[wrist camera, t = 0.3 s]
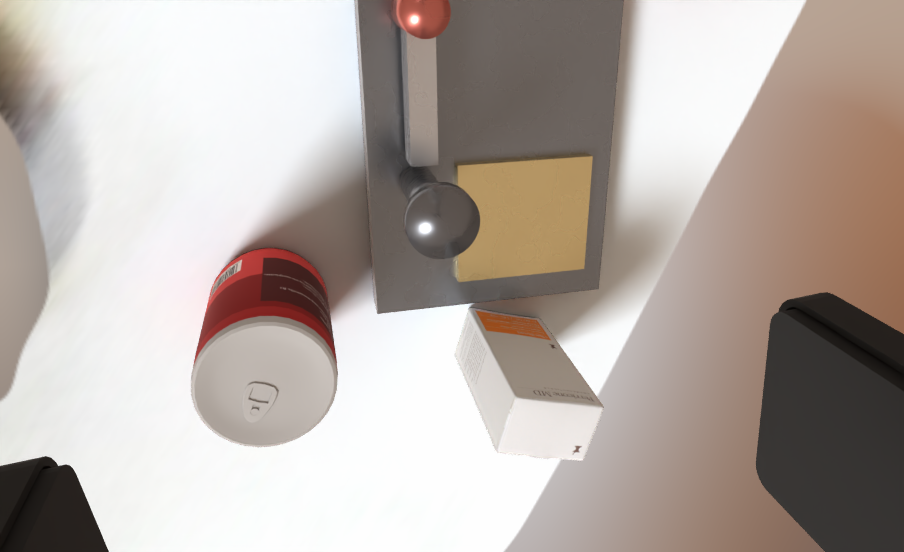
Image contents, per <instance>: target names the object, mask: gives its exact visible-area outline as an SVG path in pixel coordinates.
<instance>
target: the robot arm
mask: <svg viewBox="0 0 904 552" xmlns="http://www.w3.org/2000/svg"><path fill="white" fill-rule="evenodd" d="M756 469H757V473H758V476H759V479H760V480H761V483H762V485H763V486H764V487H765V489H766V490H767V491H768V492H769V493H770V494H771V495H772V496H773V497H774V499H776V501H777V502H778V503H779V504H780V505H781V506H782V507H783V508H784V509H785V510H786V511H787V512H788V513H789V514H790V515H791V516H792V517H793V518H794V520H795V521H796V522H798V524H799V525H800V526H801V527H802V528H803V529H804V530H805V531H806V532H807V533H808V534H809V535H810V536H811V537H812V538H813V539H814V541H815V542H816V543H817V544H818V545H819V546H820V547H821V548H822V549H823V550H824V551H825V552H904V334H902V333H901V332H899V331H897V330H895V329H894V328H892V327H890V326H888V325H887V324H885V323H883V322H881V321H879V320H877V319H876V318H874V317H872V316H871V315H869V314H867V313H865V312H864V311H862V310H860V309H858V308H857V307H855V306H853V305H851V304H849V303H847V302H846V301H844V300H842V299H841V298H839V297H837V296H835V295H833V294H830V293H818V294H814V295H809V296H804V297H799V298H795V299H790V300H787V301H785V302H784V303H783V304H782V305H781V307H780V308H779V312H778V313H776V314H775V315H774V316H773V317H772V319H771V323H770V331H769V341H768V350H767V360H766V370H765V379H764V389H763V399H762V409H761V418H760V428H759V438H758V447H757V457H756ZM0 552H109V551H108V549H107V546H106V544H105V542H104V539H103V537H102V534H101V532H100V530H99V527H98V525H97V523H96V520H95V518H94V515H93V513H92V511H91V508H90V506H89V504H88V501H87V499H86V497H85V494H84V492H83V489H82V487H81V485H80V482H79V480H78V478H77V475H76V473H75V471H74V470H73V468H72V467H71V466H70V465H62V466H58V465H57V463H56V462H55V461H54V460H53V459H52V458H50V457H46V456H45V457H41V458H36V459H31V460H26V461H22V462H17V463H12V464H7V465H3V466H0Z"/></svg>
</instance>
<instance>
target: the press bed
mask: <svg viewBox="0 0 904 552" xmlns="http://www.w3.org/2000/svg"><path fill="white" fill-rule="evenodd" d="M448 1H449V3H450V8H451V16H450V20H449V23H448V25H447V27H446V29H445V30H444V31H443V32H442V33H441V34H440V35H438V36H437V37H436V65H437V116H438V165H432V166H418V167H411V166H410V164H409V163H408V161H407V159H406V151H405V126H404V101H403V76H402V51H401V29H400V28H399V27H398V26H397V25H396V23H395V22H394V20H393V17H392V14H391V2H392V0H354V2H355V18H356V33H357V48H358V64H359V79H360V94H361V109H362V125H363V140H364V155H365V171H366V186H367V201H368V217H369V232H370V247H371V262H372V278H373V293H374V303H375V306H376V310H377V314H380V313H388V312H397V311H406V310H415V309H424V308H433V307H442V306H451V305H460V304H469V303H478V302H487V301H496V300H505V299H513V298H522V297H531V296H540V295H549V294H558V293H567V292H576V291H585V290H594V289H599V278H600V266H601V255H602V243H603V231H604V220H605V208H606V197H607V185H608V174H609V162H610V151H611V139H612V128H613V116H614V105H615V93H616V82H617V70H618V59H619V47H620V36H621V24H622V13H623V1H624V0H448Z"/></svg>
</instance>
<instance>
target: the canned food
mask: <svg viewBox="0 0 904 552" xmlns="http://www.w3.org/2000/svg"><path fill="white" fill-rule="evenodd" d="M337 376H338V371H337V360H336V353H335V346H334V339H333V332H332V325H331V318H330V311H329V304H328V297H327V291H326V287H325V284H324V282H323V279H322V278H321V276H320V275H319V273H318V272H317V270H316V269H315V268H314V267H313V266H312V265H311V264H310V263H309V262H308V261H306V260H305V259H303V258H302V257H300V256H299V255H297V254H295V253H293V252H290V251H288V250H283V249H278V248H263V249H257V250H253V251H250V252H248V253H245V254H243V255H241V256H240V257H238V258H236V259H235V260H233V261H232V262H230V263H229V264H228V265H227V266H226V267H225V268H224V269H223V270H222V271H221V272H220V274H219V275H218V277H217V278H216V280H215V282H214V284H213V286H212V289H211V292H210V297H209V301H208V305H207V309H206V313H205V317H204V322H203V326H202V330H201V334H200V338H199V343H198V347H197V351H196V355H195V360H194V365H193V371H192V376H191V395H192V400H193V403H194V407H195V409H196V411H197V413H198V415H199V417H200V418H201V420H202V421H203V422H204V423H205V424H206V426H207V427H208V428H209V429H210V430H212V431H213V432H214V433H216V434H217V435H218V436H220V437H222V438H224V439H226V440H228V441H230V442H233V443H237V444H240V445H244V446H252V447H268V446H275V445H280V444H284V443H287V442H290V441H292V440H295V439H297V438H299V437H301V436H302V435H304V434H306V433H307V432H309V431H310V430H312V429H313V428H314V427H315V426H316V425H317V424H318V423H320V421H321V420H322V419H323V418H324V416H325V415H326V414H327V412H328V411H329V409H330V407H331V405H332V403H333V401H334V397H335V394H336V390H337Z"/></svg>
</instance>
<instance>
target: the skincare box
mask: <svg viewBox="0 0 904 552" xmlns="http://www.w3.org/2000/svg"><path fill="white" fill-rule="evenodd" d="M455 357H456V360H457V362H458V364H459V366H460V369H461V371H462V373H463V376H464V378H465V380H466V383H467V385H468V387H469V389H470V392H471V394H472V396H473V399H474V401H475V403H476V406H477V408H478V410H479V413H480V415H481V417H482V419H483V422H484V424H485V426H486V429H487V431H488V433H489V436H490V438H491V441H492V443H493V446H494V448H495V450H496V452H497V453H504V454H514V455H525V456H530V457H534V458H543V459H549V458H555V459H568V460H579V461H582V460H584V458H585V455H586V452H587V450H588V447H589V445H590V442H591V439H592V437H593V434H594V432H595V430H596V427H597V425H598V422H599V420H600V417H601V414H602V411H603V408H604V407H603V405H602V403H601V402H600V401H599V399H598V398H597V396H596V395H595V394H594V392H593V391H592V389H591V388H590V387H589V385H588V384H587V383H586V381H585V380H584V378H583V377H582V376H581V374H580V373H579V371H578V370H577V369H576V367H575V366H574V365H573V363H572V362H571V360H570V359H569V357H568V356H567V355H566V353H565V352H564V351H563V349H562V348H561V346H560V345H559V344H558V342H557V341H556V339H555V338H554V337H553V335H552V334H551V333H550V331H549V330H548V328H547V327H546V326H545V324H544V323H543V321H542V320H541V319H539V318H530V317H524V316H517V315H510V314H504V313H498V312H493V311H487V310H481V309H476V308H469V309H468V312H467V315H466V319H465V322H464V325H463V329H462V332H461V335H460V338H459V342H458V345H457V348H456V351H455Z"/></svg>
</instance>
